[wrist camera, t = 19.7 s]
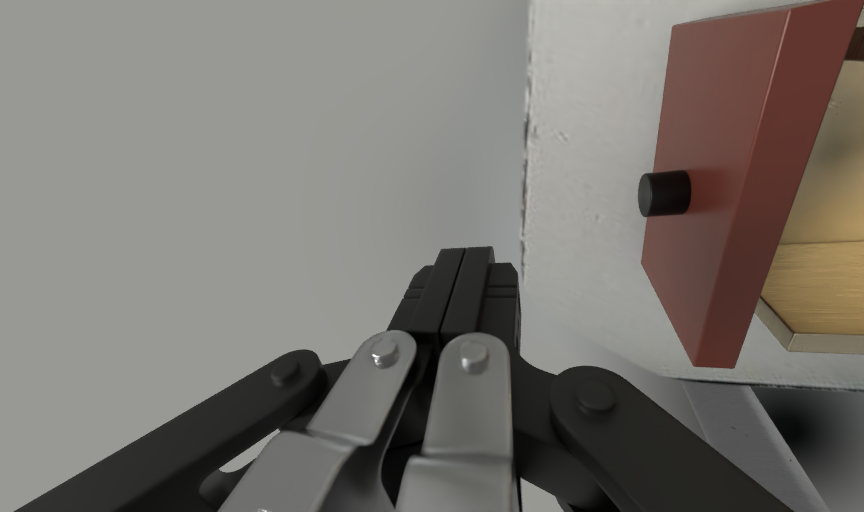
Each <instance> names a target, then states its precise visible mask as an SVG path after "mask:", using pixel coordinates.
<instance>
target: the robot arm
mask: <svg viewBox="0 0 864 512" xmlns="http://www.w3.org/2000/svg"><path fill="white" fill-rule="evenodd" d="M520 307H521V306H520V294H519V283H518V273H517V271H516V270H515V268H514V267H513V265H512V264H511V263H495V258H494V251H493V247H492V246H488V247H469V248H467V249H466V248H451V249H441V251H440V253H439V255H438V257H437V260H436V262H435V264H434V265H431V266H424V267H423V268H422V269H421V270H420V271H419V272H418V273H416V274H415V275H414V277H413V279H412V281H411V283H410V285H409V289H407V291H406V293H405V295H404V299H402V301H401V303H400V305H399V306H398V308H397V310H396V312H395V315H394V316H393V318H392V320H391V323H390V325H389V327H388V328H387V330H386V331H385V332H381V333H378V334H376V335H374V336H372V337H370V338H369V339H367V340H366V341H365V342H364V343H363V344H362V345H361V346H360V347H359V348H358V350H357V351H356V353H355V354H354V356H353V358H352V359H348V360H343V361H339V362H334V363H330V364H325V365H322V364H321V361H320V360H319V358H318V356H317V354H316V353H314V352H313V351H310V350H296V351H292V352H289V353H287V354H284V355H282V356H281V357H279V358H277V359H275V360H274V361H272V362H270V363H269V364H267V365H265V366H263V367H262V368H260V369H258V370H257V371H255V372H253V373H251V374H249V375H248V376H246V377H244V378H243V379H241V380H239V381H238V382H236V383H234V384H232V385H231V386H229V387H227V388H225V389H224V390H222V391H220V392H219V393H217V394H215V395H214V396H212V397H210V398H208V399H207V400H205V401H203V402H201V403H200V404H198V405H196V406H194V407H193V408H191V409H189V410H188V411H186V412H184V413H182V414H181V415H179V416H177V417H176V418H174V419H172V420H171V421H169V422H167V423H165V424H163V425H162V426H160V427H159V428H157V429H155V430H153V431H151V432H150V433H148V434H146V435H145V436H143V437H141V438H140V439H138V440H136V441H134V442H133V443H131V444H129V445H127V446H126V447H124V448H122V449H121V450H119V451H117V452H115V453H114V454H112V455H110V456H108V457H107V458H105V459H103V460H102V461H100V462H98V463H96V464H95V465H93V466H91V467H90V468H88V469H86V470H85V471H83V472H81V473H79V474H78V475H76V476H74V477H72V478H71V479H69V480H67V481H66V482H64V483H62V484H60V485H59V486H57V487H55V488H53V489H52V490H50V491H48V492H47V493H45V494H43V495H41V496H40V497H38V498H37V499H35V500H33V501H31V502H29V503H28V504H26V505H24V506H23V507H21V508H19V509H17V510H16V511H14V512H523V503H522V486H521V485H522V483H521V478H522V479H524V480H526V481H528V482H530V483H532V484H534V485H535V486H537V487H539V488H541V489H543V490H545V491H547V492H549V493H551V494H552V495H554V496H555V497H556V499H557V501H558V503H559V505H560V506H561V508H562V509H563V511H564V512H794V511H793V510H791V509H790V508H789V507H788V506H786V505H785V504H784V503H782V502H781V501H780V500H779V499H777V498H776V497H775V496H774V495H772V494H771V493H770V492H768V491H767V490H766V489H765V488H763V487H762V486H761V485H760V484H758V483H757V482H756V481H754V480H753V479H752V478H751V477H749V476H748V475H747V474H745V473H744V472H743V471H742V470H740V469H739V468H738V467H737V466H735V465H734V464H733V463H731V462H730V461H729V460H728V459H726V458H725V457H724V456H723V455H721V454H720V453H719V452H717V451H716V450H715V449H714V448H712V447H711V446H710V445H709V444H707V443H706V442H705V441H703V440H702V439H701V438H700V437H698V436H697V435H696V434H695V433H693V432H692V431H691V430H689V429H688V428H687V427H685V426H684V425H683V424H682V423H680V422H679V421H678V420H677V419H675V418H674V417H673V416H672V415H670V414H669V413H668V412H667V411H665V410H664V409H663V408H661V407H660V406H658V404H656V403H655V402H654V401H652V400H651V399H650V398H649V397H647V396H646V395H645V394H644V393H642V392H641V391H640V390H638V389H637V388H636V387H634V386H633V385H632V384H631V383H630V382H628V381H627V380H626V379H624V378H623V377H621V376H620V375H618V374H616V373H614V372H612V371H609V370H606V369H603V368H599V367H594V366H578V367H573V368H569V369H567V370H565V371H563V372H561V373H560V374H558V375H554V374H551V373H548V372H545V371H543V370H540V369H538V368H536V367H534V366H532V365H530V364H529V363H528V362H526V361H525V360H524V359H523V358H522V357H521V356H520V337H521V308H520ZM276 429H279V430H280V433H278V434H277V435H275V436H274V437H273V438H272V439H271V440H270V441H269V442H268V443H267V445H266V446H265V447H264V448H263V450H262V451H261V453H260V454H259V455H258V457H257V458H255V459H254V460H253V461H251V462H250V463H248V464H247V465H246V466H244V467H243V468H241V469H239V470H237V471H234V472H230V473H225V472H222V471H220V470H219V468H220V467H222V466H223V465H225V464H226V463H227V462H229V461H230V460H232V459H233V458H235V457H236V456H238V455H239V454H241V453H242V452H244V451H245V450H247V449H248V448H250V447H251V446H252V445H254V444H256V443H257V442H258V441H260V440H261V439H263V438H264V437H266V436H267V435H269V434H270V433H272V432H273V431H275V430H276Z"/></svg>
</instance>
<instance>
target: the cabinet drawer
mask: <svg viewBox="0 0 864 512" xmlns="http://www.w3.org/2000/svg"><path fill="white" fill-rule="evenodd" d="M863 6H864V0H816V1H810V2H803V3H797V4H791V5H785V6H778V7H772V8H766V9H759V10H753V11H747V12H741V13H734V14H728V15H722V16H716V17H709V18H705V19H700V20H696V21H691V22H686V23H682V24H677V25H674V26H673V27H672V32H671V40H670V48H669V55H668V63H667V70H666V78H665V86H664V93H663V101H662V108H661V116H660V123H659V131H658V139H657V146H656V154H655V161H654V169H653V173H646V174H644V175H643V176H642V177H641V180H640V183H639V189H638V202H639V208H640V212H641V214H642V216H644V217H647V222H646V230H645V237H644V245H643V252H642V260H641V264H642V266H643V268H644V270H645V272H646V274H647V276H648V278H649V280H650V282H651V284H652V286H653V288H654V290H655V292H656V294H657V296H658V298H659V300H660V302H661V304H662V306H663V308H664V309H665V311H666V313H667V315H668V317H669V319H670V321H671V323H672V325H673V327H674V329H675V331H676V333H677V335H678V337H679V339H680V341H681V343H682V345H683V347H684V349H685V351H686V353H687V355H688V357H689V359H690V361H691V363H692V365H693V366H695V367H711V368H730V369H733V368H735V365H736V362H737V359H738V356H739V354H740V351H741V348H742V345H743V342H744V340H745V337H746V334H747V331H748V328H749V326H750V323H751V320H752V317H753V314H754V312H755V314H756V315H757V316H758V317H759V318H760V320H761V321H762V322H763V323H764V324H765V326H766V327H767V328H768V329H769V330H770V332H771V333H772V334H773V335H774V336H775V337H776V339H777V340H778V341H779V342H780V343H781V345H782V346H783V347H784V348H785V349H786V350H787V351H789V352H814V353H841V354H864V10H862V9H863Z"/></svg>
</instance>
